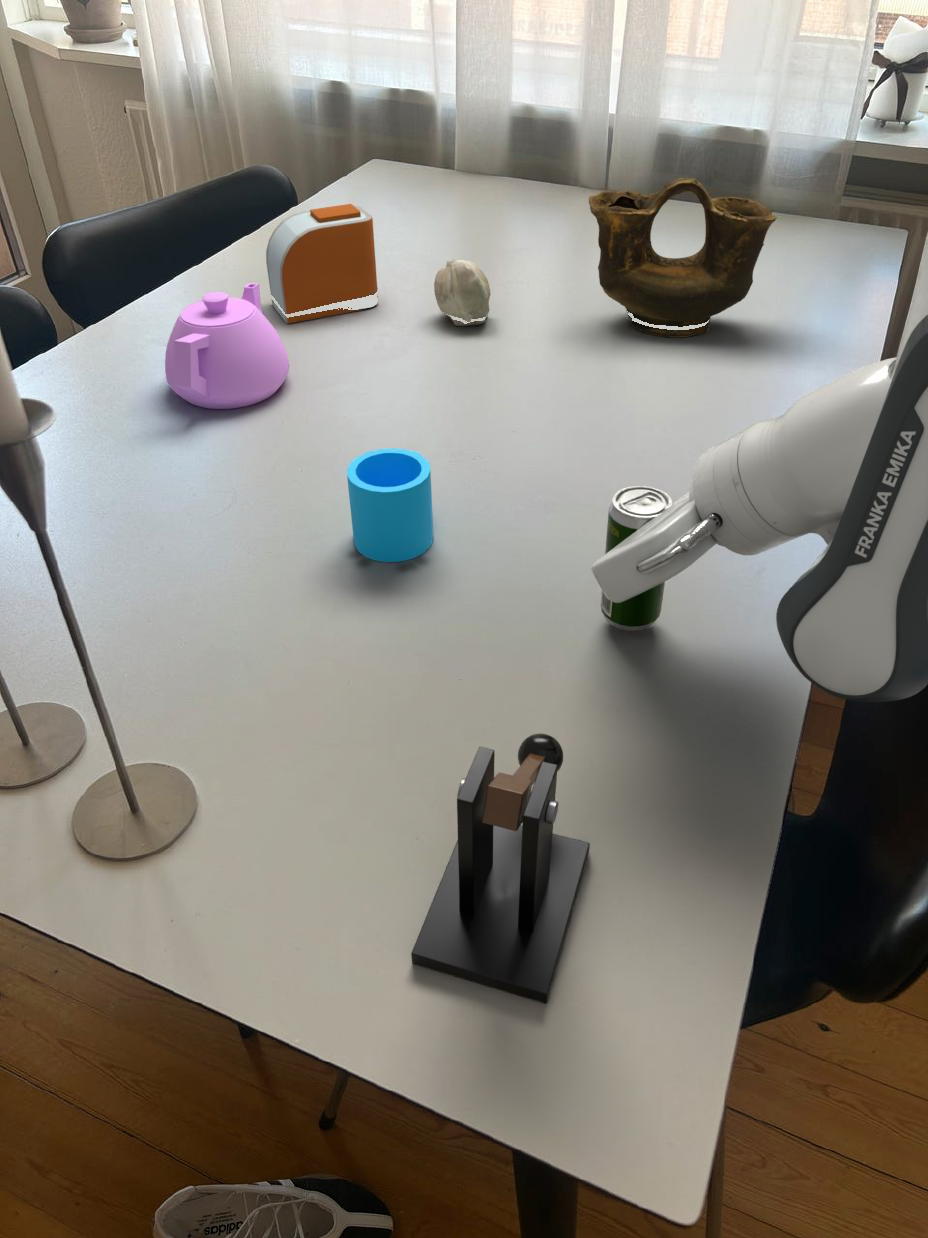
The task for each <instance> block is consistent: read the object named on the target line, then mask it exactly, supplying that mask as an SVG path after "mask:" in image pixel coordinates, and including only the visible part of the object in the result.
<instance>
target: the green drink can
mask: <svg viewBox="0 0 928 1238" xmlns="http://www.w3.org/2000/svg"><path fill="white" fill-rule="evenodd" d="M673 503H674V502H673V499H672V497H670V495H669V494H668V493H666V492H665V491H664V490H662V489H659V488H656V487H653V486H648V485H631V486H628V487H627V486H626V487H624V488H621V489H619V490H618V491H616V492H615V493H614V495H613V497H612V500H611V503H610V505H609V507H608V512H607V513H608V514H607V515H608V516H607V525H606V539H605V549H604V555H605V554H607V553H608V552H609V551H610V550H612V549H613V548H614V547H616V546H617V545H618V544H620V543H621V542H622V541H624V540H625V539H626V538H628V537H629V536H630V535H632V534H633V533H634V532H636V531H637V530H638V529H640V528H641V527H642V526H644V525H645V524H646V523H648V522H649V521H650V520H652V519H653V518H655V517H657V516H658V515H659V514H661V512H662V511H664V510H665V509H666V508H667V507H670V506H671V505H672V504H673ZM665 584H666V581H665V582H663V583H661V584H659V585H657V586H655V587H653V588H651V589H649V590H647V591H645V592H643V593H641V594H638V595H636V596H634V597H632V598H630V599H628V600H626V601H623V602H621V603H615V602H612V601H611V600H610V599H609V598H608V597H607V596H606V594H605V593H604V591H603V590H602V589H601V598H600V609H601V613H602V615H603V617H604V618H605V620H606V621H607V623H609V624H610V625H611V626H612V627H615V628H616V629H619V630H621V631H622V630H623V631H627V632H635V631H636V632H638V631H644V630H646V629H649V628H650V627H652V626H653V625H654V624H655V623H656V622H657V620H658V619H659V618H660V615H661V611H662V606H663V600H664V592H665V586H666V585H665Z"/></svg>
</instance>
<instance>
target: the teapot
mask: <svg viewBox="0 0 928 1238" xmlns="http://www.w3.org/2000/svg"><path fill="white" fill-rule="evenodd" d="M260 287H261V286H260V283H254V282H249V283H247V284H246V285H245V286H243V293H242V297H241V298H240V297H239V298H238V297H229V294H228V293H226V292H221V291H213V292H209V293H206V294H204V295H203V296H202V297H201V299H202V300H197V301H195V302H193V303H190V304H189V305H187V306H186V307H184V308H183V309H182V310H181V311H180V313H179V315H178V317H177V319H176V320H175V323H174V325H173V328H172V330H171V333H170V335H169V338H168V341H167V343H166V348H165V355H164V356H165V357H164V374H165V378H166V382H167V384H168V385H169V388H170V389H171V390H172V391H173V392H174V393H176V394H177V396H179V397H180V398H182V399H183V400H185V401H186V402H187V403H189V404H191V405H194V406H197V407H200V408H206V409H213V410H214V409H215V410H230V409H238V408H239V409H240V408H244V407H248V406H251V405H255V404H257V403H258V404H259V403H261V402H262V401H265V400H267V399H268V398H270V397H271V396H272V395H274V394H275V393H276V392H277V391H278V389H279V388H280V387H281V385H282V384H283V383H284V382H285V380H286V378H287V377H288V374H289V372H290V360H289V356H288V353H287V350H286V347H285V344H284V342H283V340H282V339H281V336H280V335H279V333H278V332H277V330H276V328H275V327H274V326H273V324H272V323H271V322H270V321H269V320H268V318H267V317H266V316H265V315H264V313H263V309H262V300H261V299H262V298H261V288H260Z"/></svg>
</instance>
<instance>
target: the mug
mask: <svg viewBox="0 0 928 1238" xmlns="http://www.w3.org/2000/svg"><path fill="white" fill-rule="evenodd" d="M346 478H347V489H348V498H349V499H348V500H349V507H350V517H351V526H352V527H351V528H352V537H353V545H354V547H355V549H356V550H357V552H358V553H360V554H361V555H362V556H364V557H365V558H368V559H370V560H374V561H376V562H383V563H399V562H405V561H408V560H412V559H415V558H417V557H419V556H421V555H423V554H425V552H426V551H428V550H429V548H431V546H432V543H433V541H434V523H433V498H432V497H433V496H432V471H431V464H430V462H429V461H428V460H427V459H426V457H424V456H423V455H422V454H421V453H419V452H417V451H414V450H408V449H405V448H396V447H395V448H391V447H390V448H379V449H374V450H370V451H368V452H367V451H366V452H365V453H363V454H360V455H358V456H356V458H354V459H353V460H352V461H350V463H349V465H348V466H347V468H346Z"/></svg>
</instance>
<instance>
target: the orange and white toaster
mask: <svg viewBox="0 0 928 1238" xmlns="http://www.w3.org/2000/svg"><path fill="white" fill-rule="evenodd" d="M373 218H374V217H373V216H372V214H370V213H369V212H367V210H365V209H364V208H363V207H361V206H359V205H354V204H352V203H345V204H339V205H333V206H327V207H326V206H325V207H319V208H312V209H310V210H305V211H304V210H303V211H300V212H297V213H294V214H293V213H292V214H291V215H289V216H288V217H286V218H285V219H283V220H282V221H281V222H280V223H279V224H278V225H277V226H276V227H275V228H274V230H273V231H272V233H271V235H270V237H269V238H268V242H267V247H266V251H265V259H266V261H265V262H266V269H267V277H268V283H269V291H270V296H271V295H272V296H273V297H274V298H275V300H276V301H277V302H278V304H279V305H280V307H281V308H282V309H283V311H284V312H285V314H291V313H295V312H299V311H304V310H308V309H311V308H316V307H320V306H324V305H329V304H332V303H337V302H342V301H347V300H352V299H357V298H362V297H366V296H369V295H374V294H375V293H376V292H377V290H378V277H377V265H376V264H377V263H376V248H375V247H376V246H375V234H374V219H373ZM271 305H272V307H273V308H274V309H275V311H276V312H277V313H278V315H279V316H280V317H281V319H283V321H284V322H285V323H286V324H287V325H288V324H293V323H299V322H303V321H304V322H305V321H309V320H315V319H321V318H325V317H331V316H337V315H343V314H348V313H353V312H359V311H362V310H361V309H359V310H348V309H344V310H343V308H341V309H340V308H338V309H339V310H338V309H333V310H327V311H322V312H316V313H311V314H305V315H300V316H294V317H289V318H287V317H286V316H285V315H284V314H283V313H282V311H281V310H280V309H279V308H278V306H277V305H276V304H275V303H274V301H273V300H272V299H271ZM348 308H349V307H348ZM351 309H352V308H351Z"/></svg>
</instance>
